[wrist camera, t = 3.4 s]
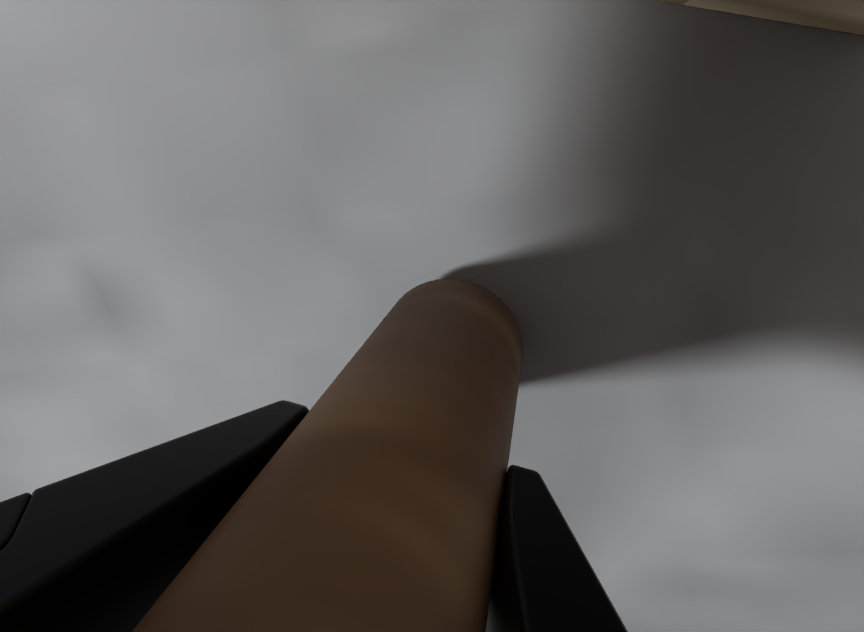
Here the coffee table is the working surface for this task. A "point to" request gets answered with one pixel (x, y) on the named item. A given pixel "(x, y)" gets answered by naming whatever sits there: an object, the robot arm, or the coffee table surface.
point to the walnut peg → (374, 488)
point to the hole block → (793, 11)
